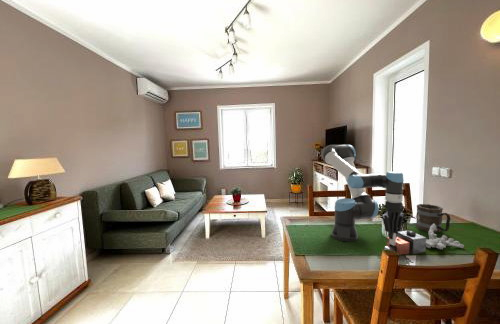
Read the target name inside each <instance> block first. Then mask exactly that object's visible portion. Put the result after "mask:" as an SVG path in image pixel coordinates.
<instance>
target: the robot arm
mask: <svg viewBox="0 0 500 324" xmlns="http://www.w3.org/2000/svg"><path fill="white" fill-rule="evenodd" d="M356 156H357V155H356V149H355V147H354V146H353V145H351V144H345V143H344V144H329V145H326V146H325V147H324V148H323V150H322V152H321V158H322V159H323V160H322V161H324V162H325V163H326V164H327V165H331V166H332V167H333V168H334V169H335V170H336V171H337V172H339V174H341V175H342V176H343V177H344V178H345V182H346V184H347V186H348V189H349V192H350V195H351V198H349V197H348V198H346V197H345V198H339V199H337V200H336V201H335V202H334V225H333V227H332V230H331V236H332V237H333V238H334V239H335V240H338V241H341V242H355V241H357V240H358V239H359V234H358V231H357V228H356V221H357V220H358V221H359V220H369V219H373V218H376V217H377V216H378V215H379V211H380V210H379V209H380V208H379V204H378V202H377V201H376V200H375V199H372V198H371V195H370V194H368V193H366V191H365V189H367V188H383V189H385V203H384V204H385V205H384V206H385V208H386V210H385V213H384V214H383V213H382V214H381V217H382V221H383V226H384V230H385V232H387V233H388V237H389V244H391V245H393V246H394V245H396V238H397V234H398V233H399V232H400V231H402V227H403V223H404V222H403V221H404V218H405V216H406V213H403V212H402V210H403V195H404V194H403V193H404V174H403V172H401V171H387V172H386V173H379V172H371V173H362V172H360V171H358V169H357V168H356V166H355V163H354V162H355V158H356Z"/></svg>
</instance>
